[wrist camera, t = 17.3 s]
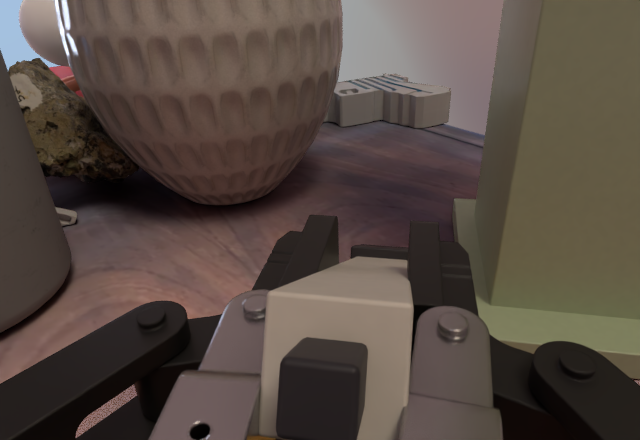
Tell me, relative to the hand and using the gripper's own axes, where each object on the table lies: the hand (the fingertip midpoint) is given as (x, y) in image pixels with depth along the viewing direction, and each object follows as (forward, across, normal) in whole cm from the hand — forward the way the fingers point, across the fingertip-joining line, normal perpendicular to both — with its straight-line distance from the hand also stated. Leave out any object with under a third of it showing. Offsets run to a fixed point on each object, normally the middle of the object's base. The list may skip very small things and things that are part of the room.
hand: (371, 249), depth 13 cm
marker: (0, 0, +3) cm, 3 cm away
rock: (+17, +19, +7) cm, 27 cm away
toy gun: (+30, +1, +5) cm, 31 cm away
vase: (+18, +12, +7) cm, 22 cm away
